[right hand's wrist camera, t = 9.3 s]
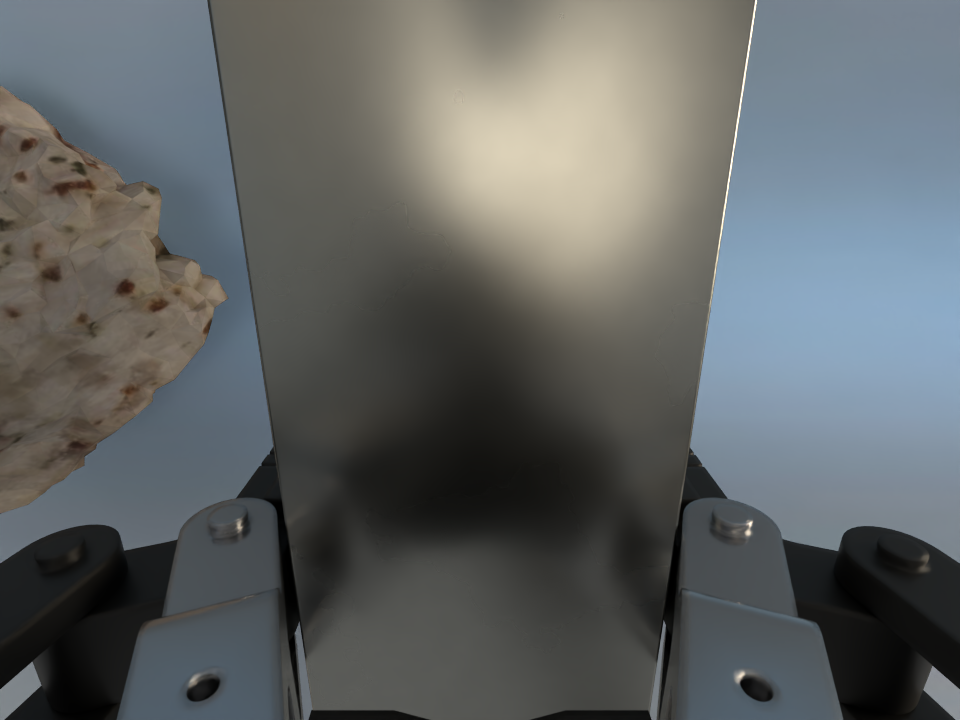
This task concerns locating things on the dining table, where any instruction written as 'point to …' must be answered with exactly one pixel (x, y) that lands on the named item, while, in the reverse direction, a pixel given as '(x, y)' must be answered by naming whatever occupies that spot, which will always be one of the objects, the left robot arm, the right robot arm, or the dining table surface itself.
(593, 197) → the bar
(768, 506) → the dining table surface
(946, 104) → the dining table surface
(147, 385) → the rock
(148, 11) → the dining table surface
